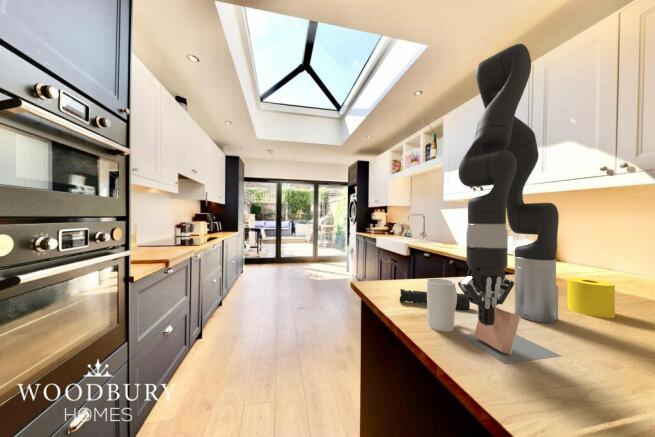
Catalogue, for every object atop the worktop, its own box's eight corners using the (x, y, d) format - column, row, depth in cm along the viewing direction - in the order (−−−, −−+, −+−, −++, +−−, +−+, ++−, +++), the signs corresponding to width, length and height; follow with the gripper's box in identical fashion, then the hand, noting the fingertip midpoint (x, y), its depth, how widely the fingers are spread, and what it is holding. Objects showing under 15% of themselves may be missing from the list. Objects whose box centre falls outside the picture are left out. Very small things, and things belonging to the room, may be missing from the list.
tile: (482, 338, 57) (491, 305, 58) (511, 354, 50) (520, 316, 51) (473, 336, 57) (482, 302, 57) (501, 352, 50) (511, 313, 50)
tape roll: (625, 318, 71) (625, 285, 71) (590, 317, 71) (590, 285, 71) (589, 306, 81) (589, 277, 81) (558, 305, 81) (558, 277, 81)
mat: (506, 331, 62) (506, 329, 62) (561, 357, 50) (561, 355, 50) (459, 336, 59) (458, 335, 59) (505, 366, 47) (505, 363, 47)
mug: (443, 335, 59) (444, 286, 59) (420, 325, 65) (421, 280, 65) (468, 327, 64) (468, 281, 64) (445, 318, 70) (445, 276, 70)
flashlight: (470, 313, 74) (470, 296, 74) (399, 304, 81) (399, 289, 81) (466, 307, 79) (467, 292, 79) (400, 300, 86) (400, 286, 86)
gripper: (495, 242, 58) (495, 315, 58) (448, 243, 56) (447, 319, 55) (527, 245, 51) (527, 328, 51) (474, 247, 48) (474, 334, 48)
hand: (486, 323), depth 53 cm, fingers closed
